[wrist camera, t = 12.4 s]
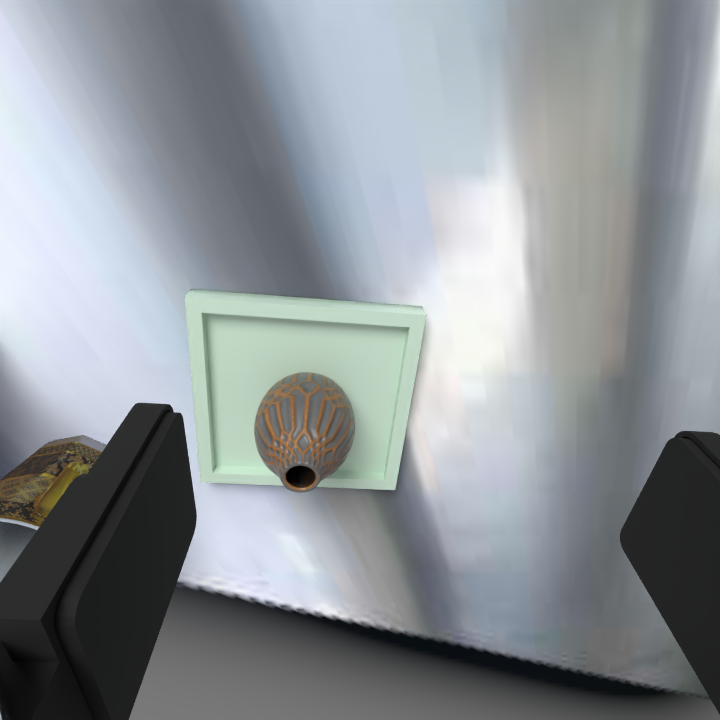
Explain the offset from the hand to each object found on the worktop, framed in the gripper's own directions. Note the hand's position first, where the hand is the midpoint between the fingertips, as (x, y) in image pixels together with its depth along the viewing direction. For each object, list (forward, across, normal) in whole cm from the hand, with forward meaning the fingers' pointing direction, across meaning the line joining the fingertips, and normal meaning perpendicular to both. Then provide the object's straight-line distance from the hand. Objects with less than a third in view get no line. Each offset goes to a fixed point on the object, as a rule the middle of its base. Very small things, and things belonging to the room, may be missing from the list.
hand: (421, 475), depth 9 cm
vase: (+23, +4, +14) cm, 27 cm away
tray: (+23, +4, +14) cm, 28 cm away
